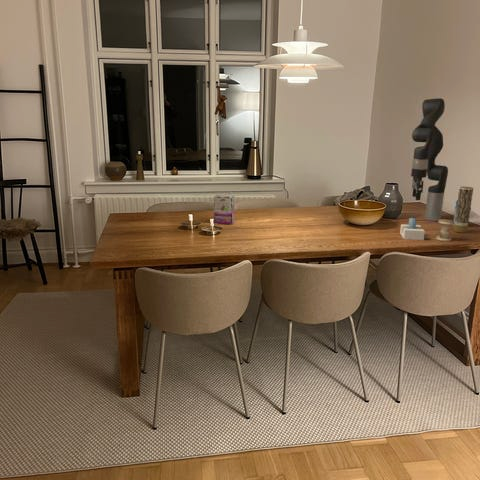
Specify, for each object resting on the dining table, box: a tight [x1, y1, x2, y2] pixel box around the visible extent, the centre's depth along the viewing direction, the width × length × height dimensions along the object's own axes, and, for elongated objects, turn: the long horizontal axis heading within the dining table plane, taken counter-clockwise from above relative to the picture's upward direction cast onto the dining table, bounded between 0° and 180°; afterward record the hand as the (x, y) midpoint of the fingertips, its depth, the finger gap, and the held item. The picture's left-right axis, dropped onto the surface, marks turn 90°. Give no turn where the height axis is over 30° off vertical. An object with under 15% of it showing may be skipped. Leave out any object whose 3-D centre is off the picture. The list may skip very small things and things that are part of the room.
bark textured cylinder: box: [452, 193, 472, 226], centre depth 275 cm, size 8×8×20 cm
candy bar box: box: [213, 194, 235, 225], centre depth 277 cm, size 11×5×16 cm, turn 76°
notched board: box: [399, 224, 426, 241], centre depth 254 cm, size 12×10×5 cm
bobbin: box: [435, 218, 454, 242], centre depth 249 cm, size 8×8×10 cm
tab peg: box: [408, 217, 417, 229], centre depth 254 cm, size 4×4×9 cm
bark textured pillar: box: [453, 186, 474, 234], centre depth 261 cm, size 7×7×25 cm
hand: (416, 198), depth 249 cm, fingers open, 8 cm apart
